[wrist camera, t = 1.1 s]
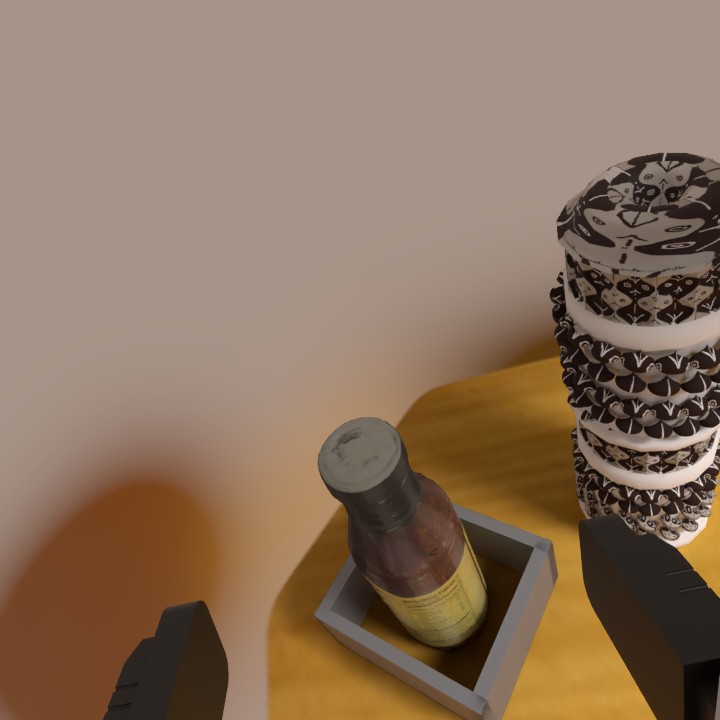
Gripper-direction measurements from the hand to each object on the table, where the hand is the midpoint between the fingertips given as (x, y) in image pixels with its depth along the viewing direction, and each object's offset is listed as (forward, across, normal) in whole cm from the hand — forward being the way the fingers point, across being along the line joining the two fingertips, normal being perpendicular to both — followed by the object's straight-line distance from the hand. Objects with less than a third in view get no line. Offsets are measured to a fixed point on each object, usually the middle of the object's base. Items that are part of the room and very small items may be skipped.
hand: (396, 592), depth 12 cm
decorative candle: (+24, -17, +19) cm, 35 cm away
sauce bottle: (+21, -2, +22) cm, 31 cm away
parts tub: (+21, -2, +22) cm, 30 cm away
